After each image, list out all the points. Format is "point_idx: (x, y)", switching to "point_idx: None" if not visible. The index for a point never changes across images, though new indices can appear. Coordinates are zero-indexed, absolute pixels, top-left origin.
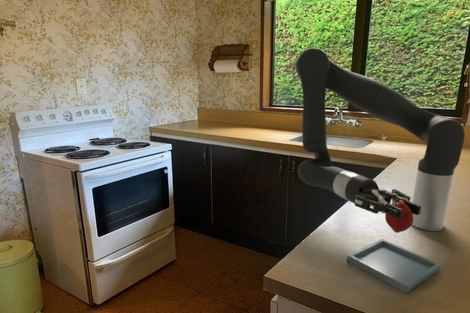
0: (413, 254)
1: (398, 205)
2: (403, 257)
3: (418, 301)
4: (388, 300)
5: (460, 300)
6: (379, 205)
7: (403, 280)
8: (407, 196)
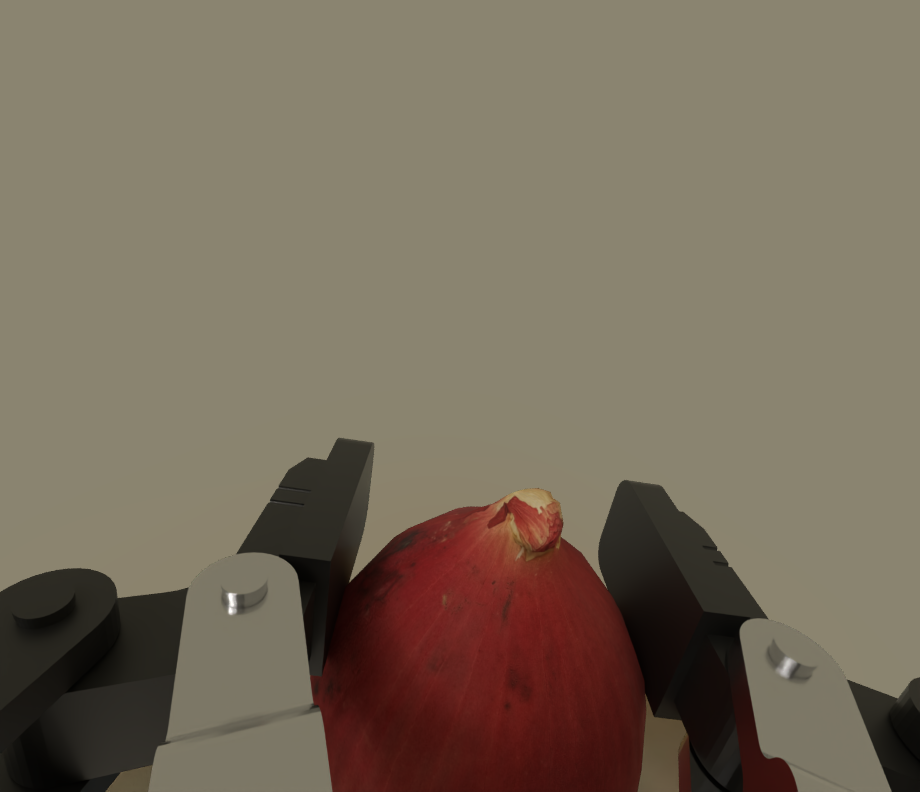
0: None
1: (570, 556)
2: None
3: None
4: (660, 726)
5: None
6: (892, 707)
7: None
8: (64, 600)
